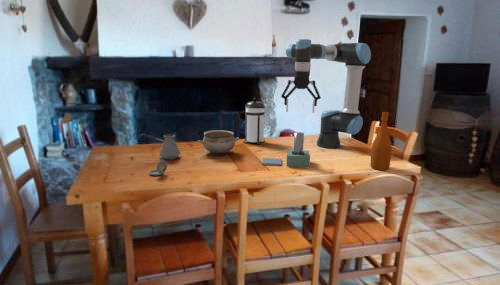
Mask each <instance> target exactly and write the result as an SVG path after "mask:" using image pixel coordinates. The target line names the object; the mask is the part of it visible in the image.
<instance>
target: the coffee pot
mask: <svg viewBox="0 0 500 285" xmlns="http://www.w3.org/2000/svg"><path fill="white" fill-rule="evenodd" d="M142 136H144V137H147V138H148V139H149V138H150V139H153V140H157V141H159V142H163V143H162V146H161V148H160V151H159V155H160V156H161V157H163V156H164V157H163V158H162V159H163V160H169V161H170V160H175V159H177V158H178V157H179V156H180V155H181V151H180V149H179V147H178V145H177V143H176V140H175V137H176V135H175V134H171V133H169V134H167V133H166V134H163V135H162V136H163V138H164V139H160V138H157V137H155V136H152V135H150V134H149V135H148V134H146V133H142V132H141V134H140V138H141V137H142ZM162 155H163V156H162ZM160 156H159V157H160ZM161 157H160V158H161Z"/></svg>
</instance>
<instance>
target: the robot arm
mask: <svg viewBox="0 0 500 285" xmlns="http://www.w3.org/2000/svg"><path fill="white" fill-rule="evenodd" d="M285 55H286V57H287V58H289V59H295V60H294V61H295V62H294V70H295V71H294V77H293V78H294V80H292V79H288V81H287V85H286V87H285V89H284V90H283V92H282V94H281V95H280V98H282V99H283V100H284V106H286V111H285V112H287V113H288V112H289V96H291V95H292V94H293V92H294V91H295V90H296V89H297V90H306V91H307V92H309V94H310V95H311V96H312V98H313V99H312V114H314V113H315V107H317V106H318V100H320V99H321V95H320V92H319V90H318V88H317V86H316V81H315V80H310V67H311V60H326V61H330V62H336V63H344V64H345V67H346V69H347V71H346V80H345V91H344V98H343V107H342V109H341V110H339V109H338V110H337V109H335V110H333V109H332V110H331V109H330V110H324V111H322V113H321V115H320V130H319V131H320V132H319V136H318V137H317V140H316V146H318V147H320V148H325V149H337V148H340V147H341V139H340V136H339V135H340V134H339V133H343V134H348V135H356V134H358V133H359V132H360V131H361V130H362V127H363V123H364V120H363V117H362V116H361V113H360V110H359V102H360V93H361V84H362V76H363V70H364V69H365V68H366V64H369V62H370V61H371V59H372V58H371V57H372V52H371V49H370V46H369V45H368V44H367V43H363V42H347V43H345V42H343V43H334V44H328V45H324V44H320V43H312V40H311V39H309V38H307V39H306V38H305V39H304V38H303V39H300V38H299V39H296V44H295V43H292V44H291V43H290V44H288V45H287V47H286V48H285ZM292 84H293V85H294V86H293V87H292V88H291V89H290V91H289V92H288V93H287V91H288V90H289V88H290V86H291V85H292ZM309 85H312V87H313V89H314V91H315V94H316V95H315V94H314V92H312V90H311V88H310V87H309ZM286 93H287V94H286Z"/></svg>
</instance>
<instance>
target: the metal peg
mask: <svg viewBox="0 0 500 285" xmlns="http://www.w3.org/2000/svg"><path fill="white" fill-rule="evenodd" d="M293 134H294V135H293V136H294V137H293V140H294V141H293V150H294V154H293V155H303V151H304V138H305V133H304V132H300V131H299V132H298V131H297V132H294V133H293Z"/></svg>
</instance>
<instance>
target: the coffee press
mask: <svg viewBox="0 0 500 285" xmlns="http://www.w3.org/2000/svg"><path fill="white" fill-rule="evenodd" d="M257 100H258V98H257V97H253V100H252V101H248V102H246V104H245V106H244V107H245V110H240V111H239V112H238V113H237V116H236V117H237V118H236V129H237V131H238V132H237V133H239V134H240V135H244V136H245V138H244V141H243V144H244V145H246V144H248V143H256V144H257V146H260V145H261V142H262V143H265V141H266V140H265V138H264V135H265V132H264V131H265V130H264V129H265V114H266V113H265V112H266V111H267V108H266V106H265V104H264V102H262V101H257ZM242 114H245V131H242V130H241V116H242Z"/></svg>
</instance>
